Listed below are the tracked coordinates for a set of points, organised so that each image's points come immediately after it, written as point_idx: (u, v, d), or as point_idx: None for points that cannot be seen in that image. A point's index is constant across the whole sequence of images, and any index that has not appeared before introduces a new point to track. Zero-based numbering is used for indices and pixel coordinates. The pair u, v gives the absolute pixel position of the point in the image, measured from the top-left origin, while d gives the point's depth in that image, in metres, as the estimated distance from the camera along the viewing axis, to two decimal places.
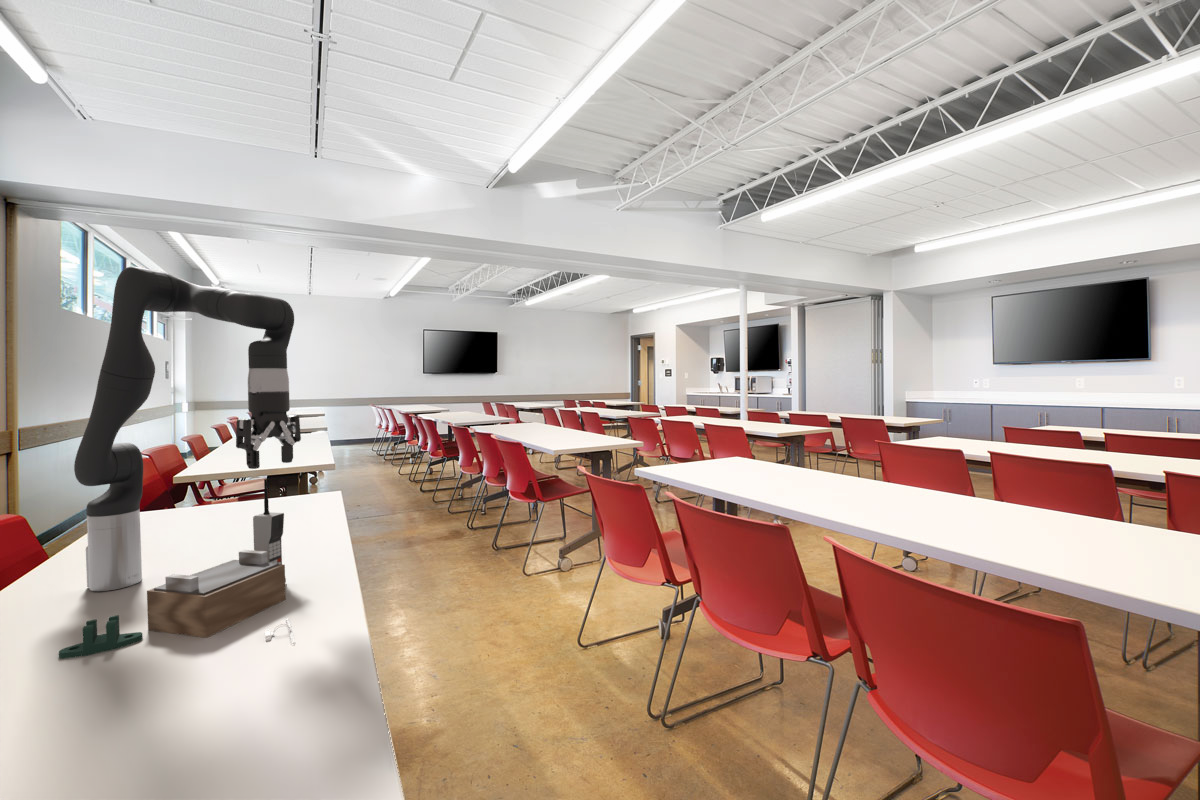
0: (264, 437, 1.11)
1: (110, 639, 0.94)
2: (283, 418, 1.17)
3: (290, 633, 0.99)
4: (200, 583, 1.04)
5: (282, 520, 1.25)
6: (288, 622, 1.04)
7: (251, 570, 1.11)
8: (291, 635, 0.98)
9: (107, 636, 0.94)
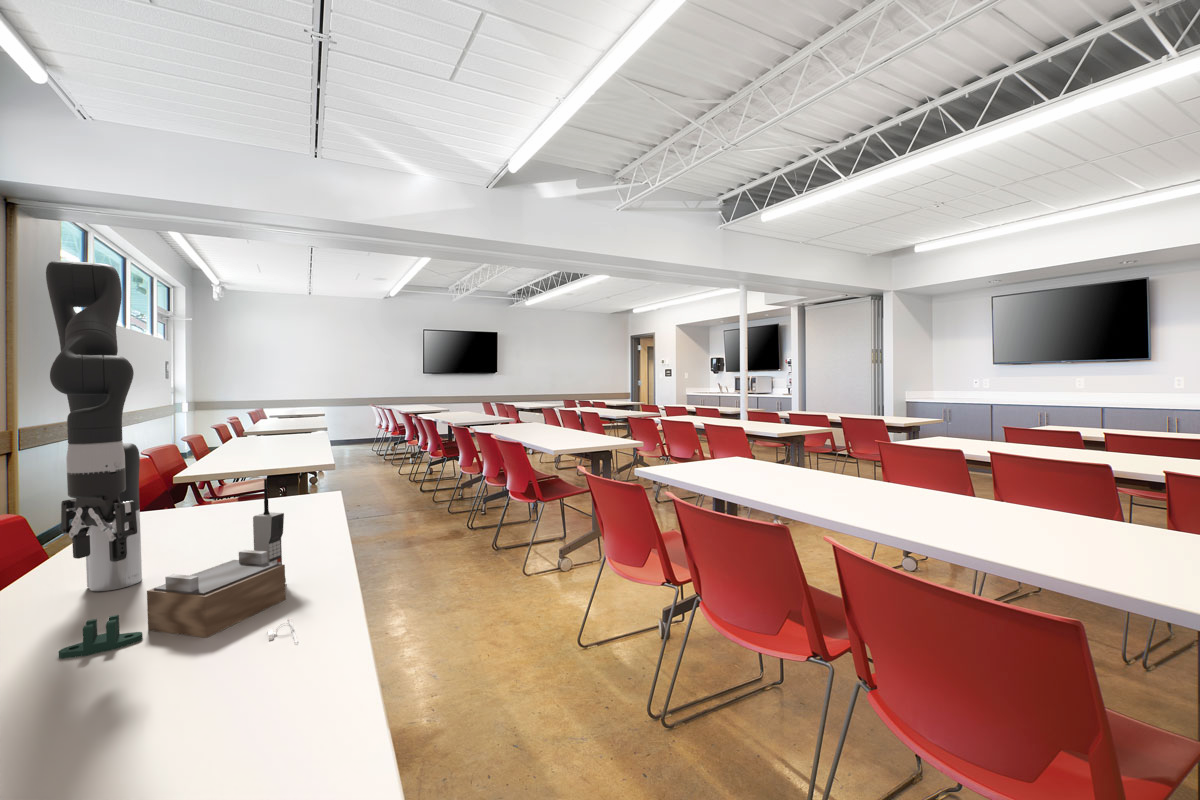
0: None
1: (110, 638, 0.94)
2: None
3: (293, 632, 0.99)
4: (200, 583, 1.04)
5: (282, 520, 1.25)
6: (290, 622, 1.04)
7: (251, 570, 1.11)
8: (294, 634, 0.99)
9: (107, 636, 0.94)
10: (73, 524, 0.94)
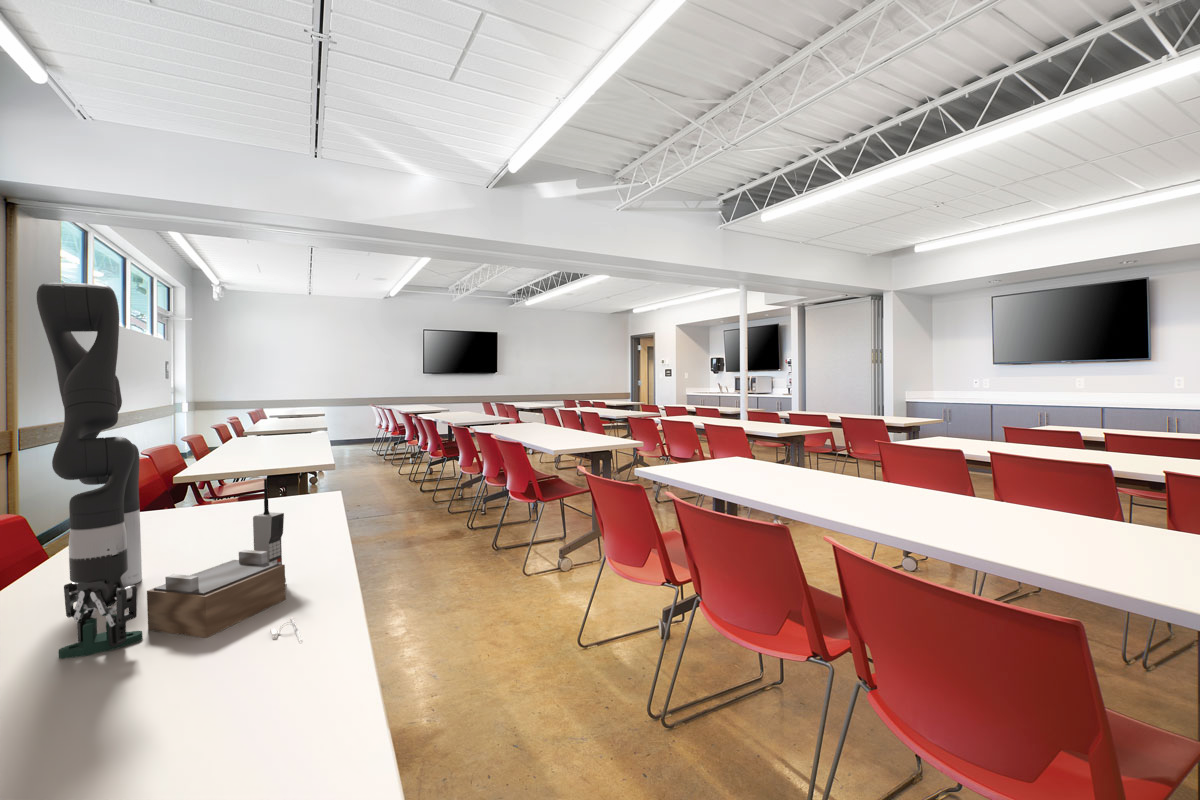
0: None
1: None
2: None
3: (296, 631, 1.00)
4: (200, 583, 1.04)
5: (282, 520, 1.25)
6: (293, 621, 1.04)
7: (251, 570, 1.11)
8: (297, 633, 0.99)
9: (107, 635, 0.94)
10: (77, 608, 0.94)
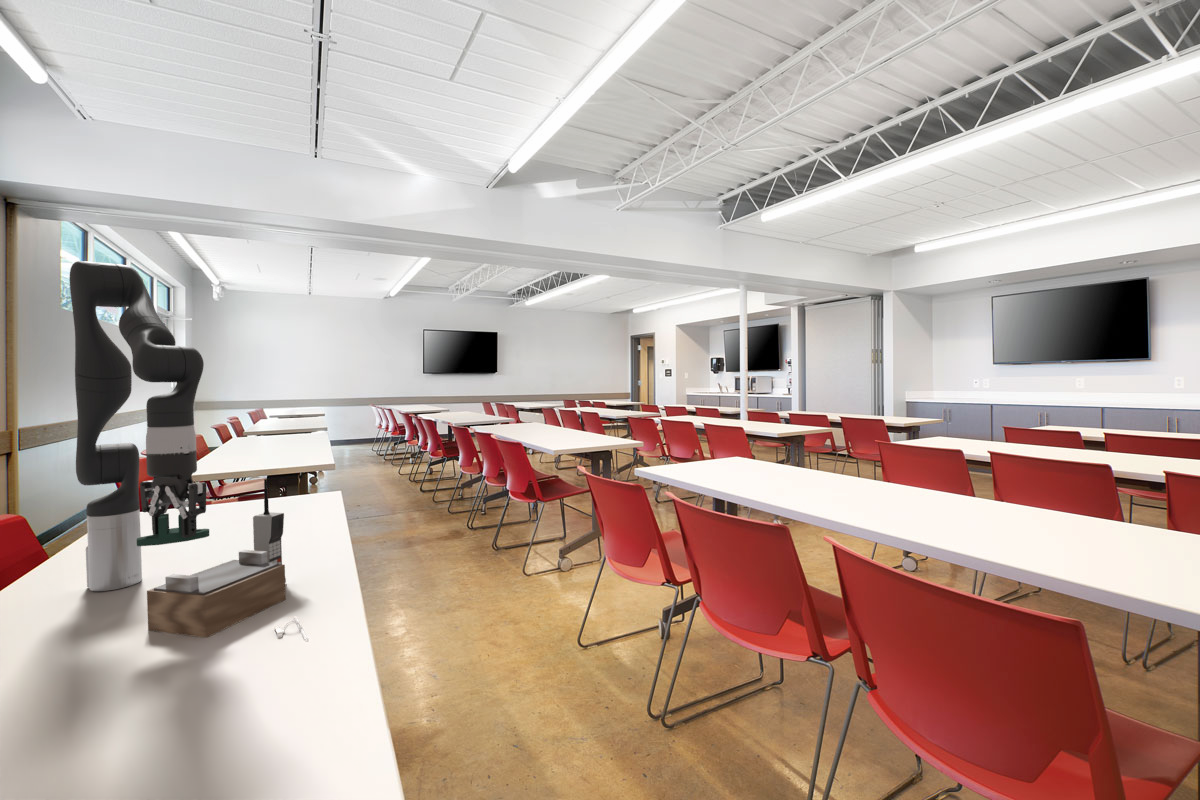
0: None
1: None
2: None
3: (301, 630, 1.00)
4: (200, 583, 1.04)
5: (282, 520, 1.25)
6: (296, 620, 1.05)
7: (251, 570, 1.11)
8: (302, 632, 1.00)
9: (179, 527, 1.01)
10: (152, 502, 1.02)
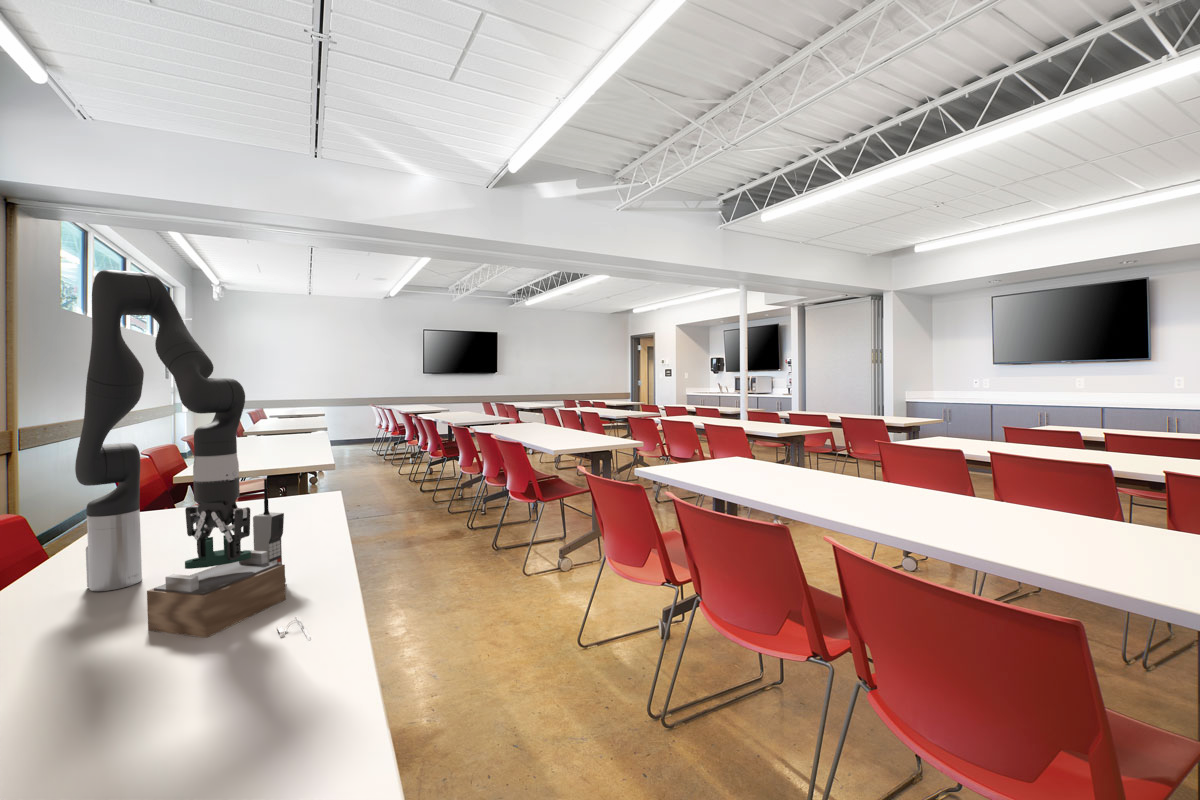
0: None
1: None
2: None
3: (303, 629, 1.01)
4: (200, 583, 1.04)
5: (282, 520, 1.25)
6: (298, 619, 1.05)
7: (251, 570, 1.11)
8: (305, 631, 1.00)
9: (225, 550, 1.07)
10: (198, 527, 1.07)
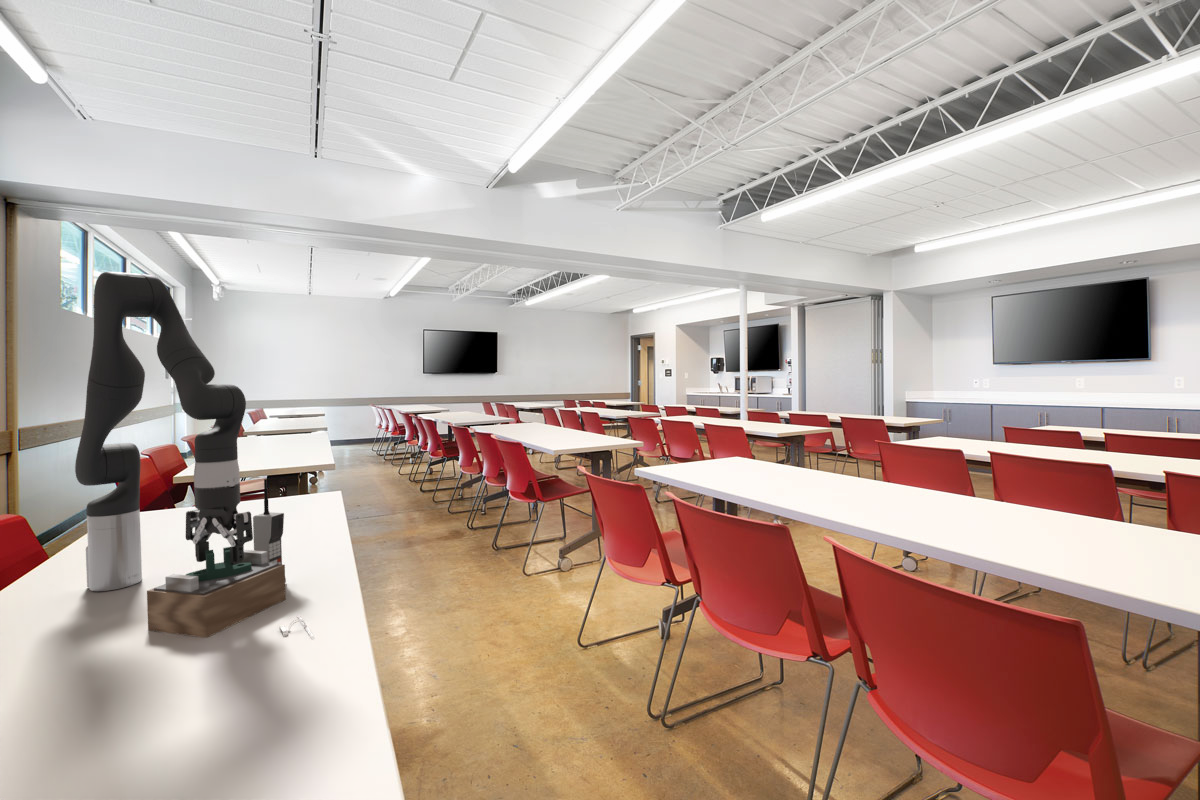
0: None
1: (228, 565, 1.08)
2: None
3: (306, 628, 1.01)
4: (200, 583, 1.04)
5: (282, 520, 1.25)
6: (300, 618, 1.06)
7: (251, 570, 1.11)
8: (308, 630, 1.00)
9: (226, 563, 1.07)
10: (197, 532, 1.07)
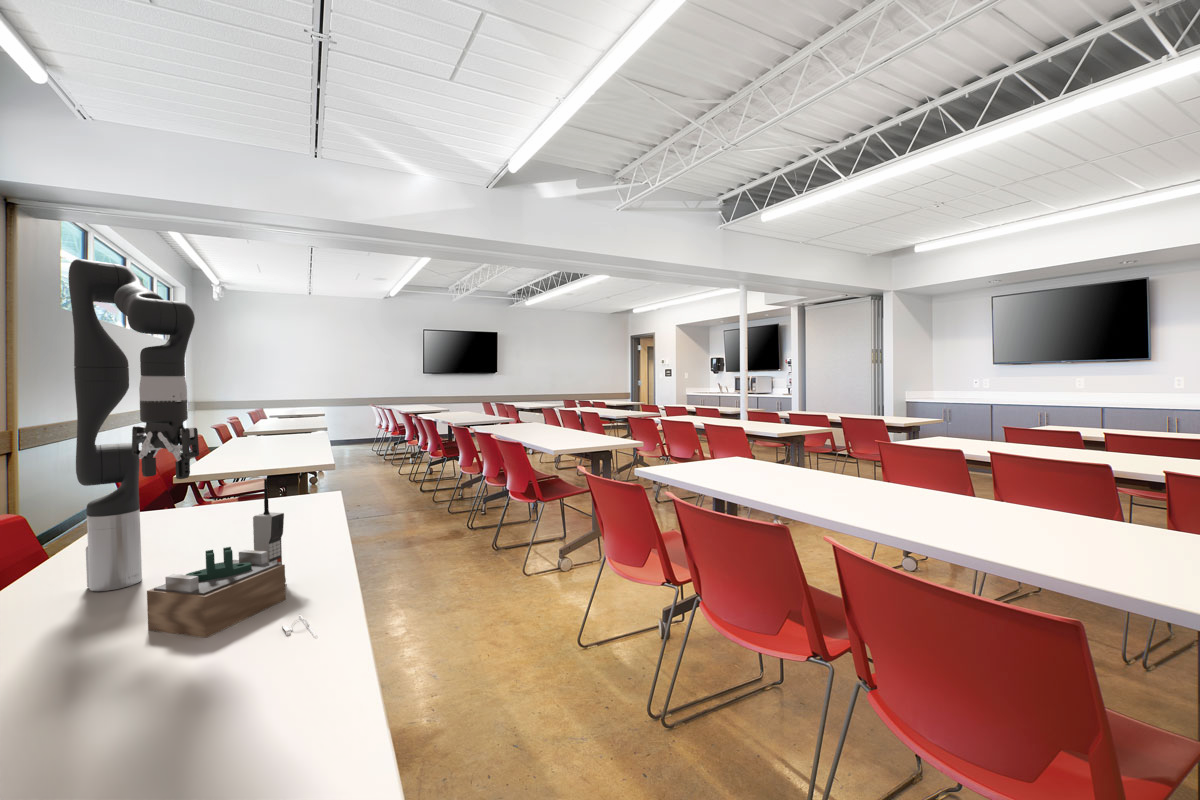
0: None
1: (228, 565, 1.08)
2: None
3: (308, 627, 1.01)
4: (200, 583, 1.04)
5: (282, 520, 1.25)
6: (302, 618, 1.06)
7: (251, 570, 1.11)
8: (310, 629, 1.01)
9: (226, 563, 1.07)
10: (143, 446, 1.08)
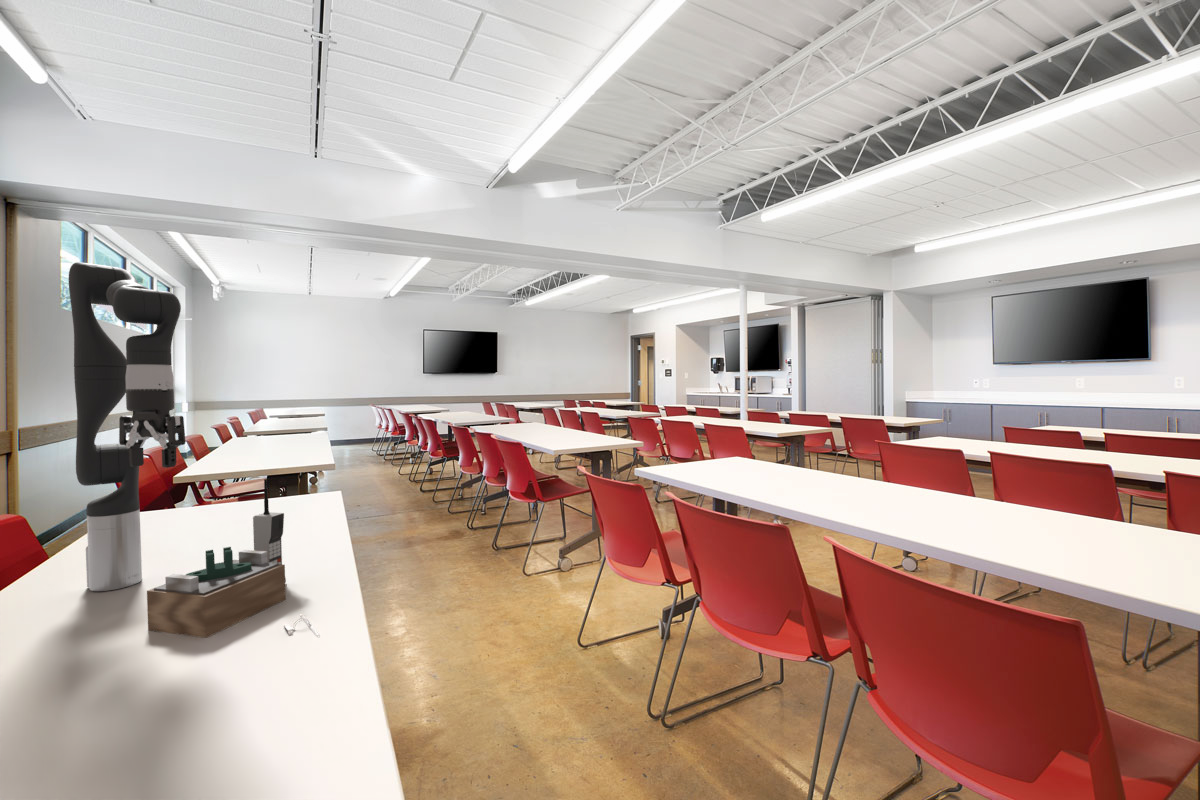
0: None
1: (228, 565, 1.08)
2: None
3: (311, 626, 1.02)
4: (200, 583, 1.04)
5: (282, 520, 1.25)
6: (303, 617, 1.06)
7: (251, 570, 1.11)
8: (312, 628, 1.01)
9: (226, 563, 1.07)
10: (130, 435, 1.08)
